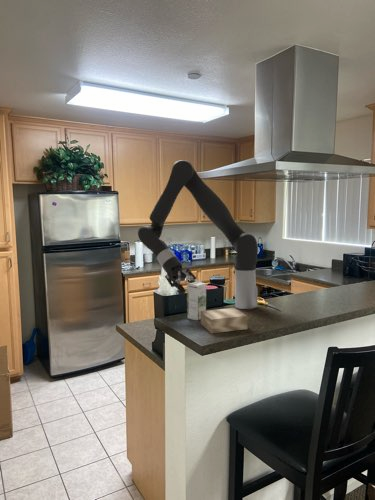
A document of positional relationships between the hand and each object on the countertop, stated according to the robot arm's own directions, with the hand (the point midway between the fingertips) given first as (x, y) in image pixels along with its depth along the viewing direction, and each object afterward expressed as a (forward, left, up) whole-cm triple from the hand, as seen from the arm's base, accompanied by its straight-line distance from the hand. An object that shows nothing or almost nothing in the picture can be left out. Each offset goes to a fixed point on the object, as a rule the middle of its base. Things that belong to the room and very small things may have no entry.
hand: (190, 291), depth 149 cm
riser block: (-8, +16, -11) cm, 21 cm away
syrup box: (-2, +2, -11) cm, 12 cm away
